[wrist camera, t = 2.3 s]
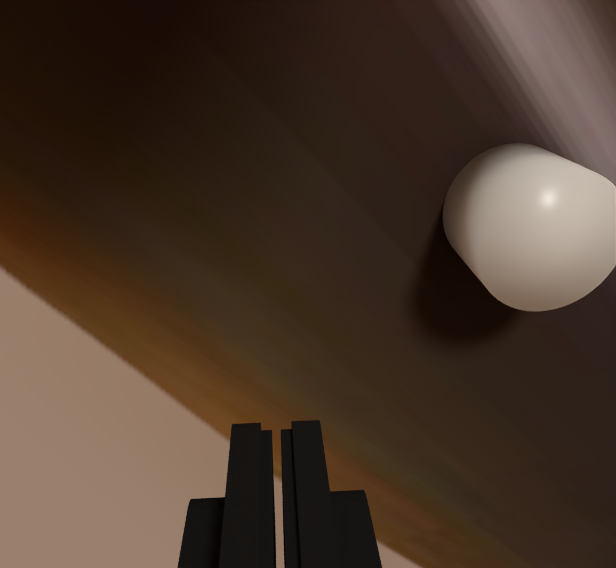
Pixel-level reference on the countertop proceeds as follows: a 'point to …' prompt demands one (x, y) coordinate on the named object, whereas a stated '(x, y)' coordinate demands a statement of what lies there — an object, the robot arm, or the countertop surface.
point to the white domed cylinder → (532, 226)
